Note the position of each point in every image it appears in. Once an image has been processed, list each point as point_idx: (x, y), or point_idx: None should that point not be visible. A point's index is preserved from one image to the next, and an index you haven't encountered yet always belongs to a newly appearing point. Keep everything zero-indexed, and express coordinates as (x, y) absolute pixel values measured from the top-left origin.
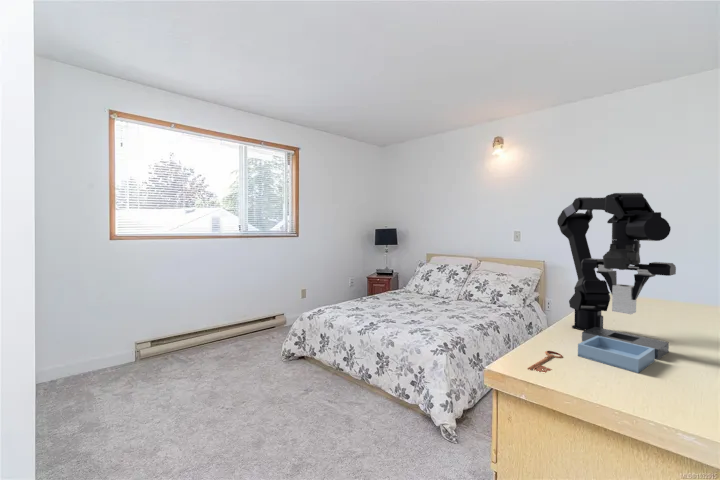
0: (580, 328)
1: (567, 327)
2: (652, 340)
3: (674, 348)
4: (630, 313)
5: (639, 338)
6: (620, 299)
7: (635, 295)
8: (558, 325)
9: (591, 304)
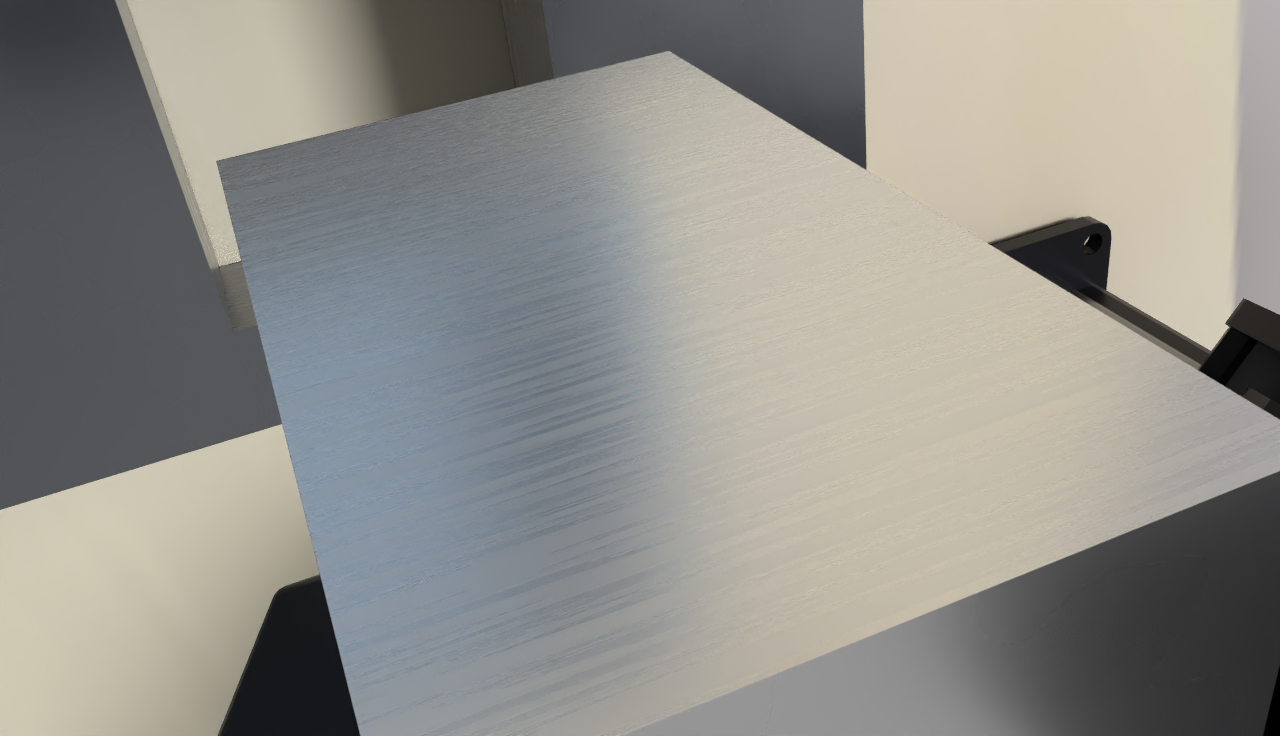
0: (1011, 245)
1: (1130, 179)
2: (56, 385)
3: (32, 665)
4: (224, 162)
5: (213, 293)
6: (621, 242)
7: (255, 699)
8: (1226, 149)
9: None
